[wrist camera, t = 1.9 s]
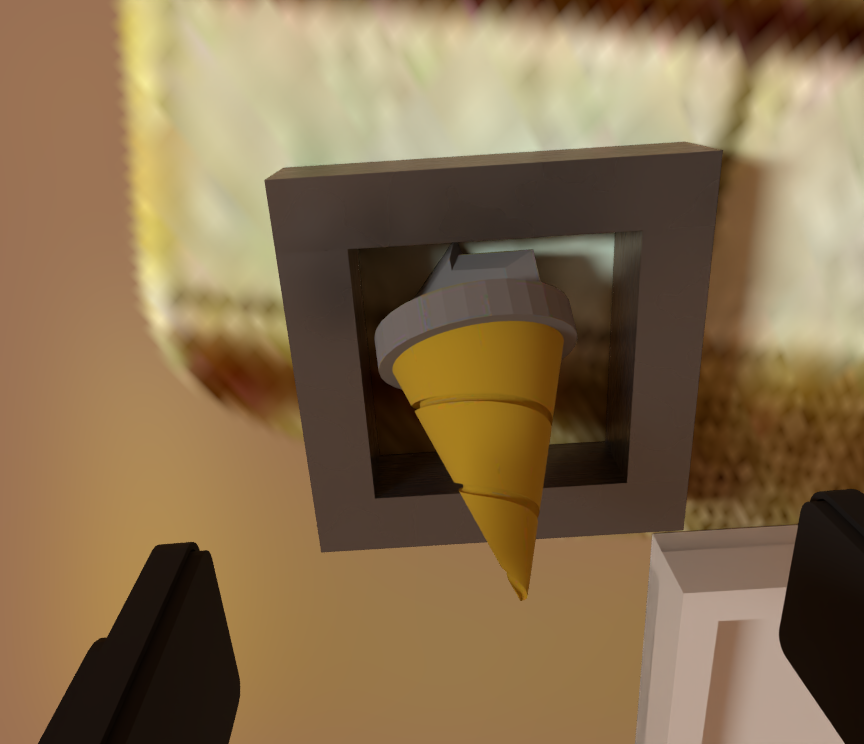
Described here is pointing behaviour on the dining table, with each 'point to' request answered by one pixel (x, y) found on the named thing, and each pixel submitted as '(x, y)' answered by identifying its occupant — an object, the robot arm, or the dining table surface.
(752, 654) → the tray
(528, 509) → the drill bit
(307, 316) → the socket collar
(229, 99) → the dining table surface
